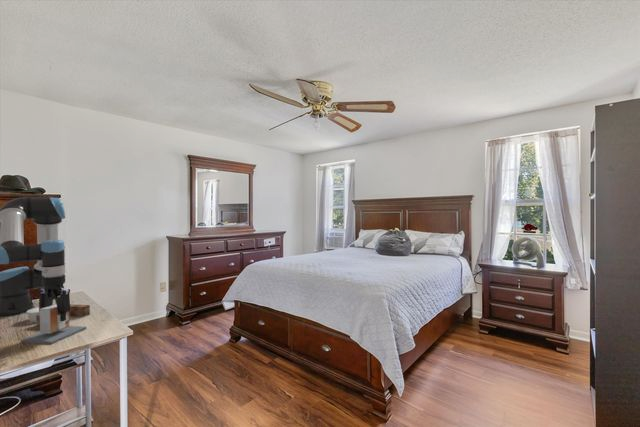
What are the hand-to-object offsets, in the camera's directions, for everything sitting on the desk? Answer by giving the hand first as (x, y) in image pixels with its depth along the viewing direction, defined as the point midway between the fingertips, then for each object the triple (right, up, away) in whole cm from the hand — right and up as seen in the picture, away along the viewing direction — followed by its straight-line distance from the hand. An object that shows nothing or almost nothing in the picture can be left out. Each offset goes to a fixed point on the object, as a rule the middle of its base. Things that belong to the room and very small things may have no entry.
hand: (55, 327), depth 127 cm
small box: (0, -1, 0) cm, 1 cm away
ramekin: (-24, -4, +20) cm, 32 cm away
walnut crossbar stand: (-12, -3, +18) cm, 21 cm away
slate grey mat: (0, -3, 0) cm, 3 cm away
